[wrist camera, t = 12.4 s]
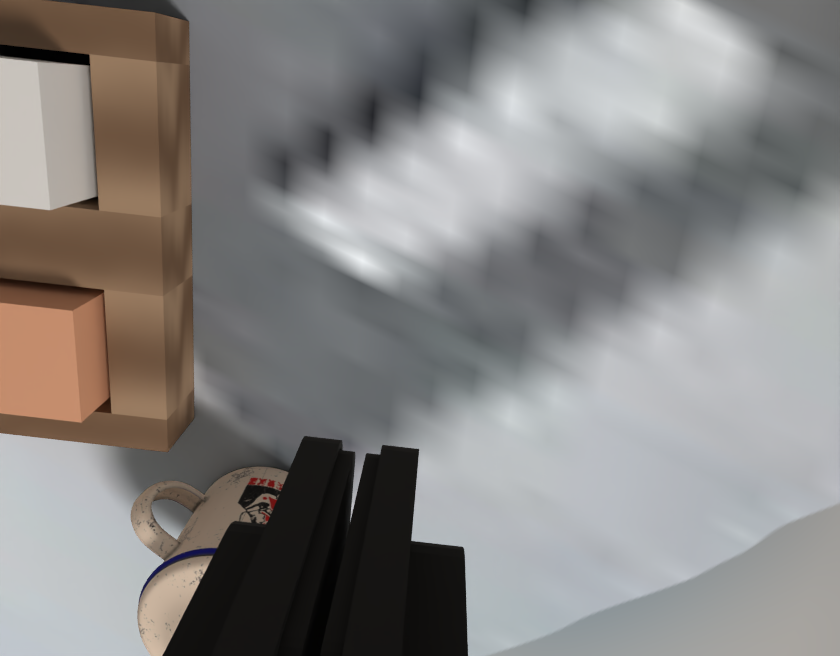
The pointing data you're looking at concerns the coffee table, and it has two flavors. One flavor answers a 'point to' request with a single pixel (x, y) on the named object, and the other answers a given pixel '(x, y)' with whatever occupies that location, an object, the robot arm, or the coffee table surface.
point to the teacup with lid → (194, 541)
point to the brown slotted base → (119, 218)
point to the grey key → (46, 133)
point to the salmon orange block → (52, 350)
